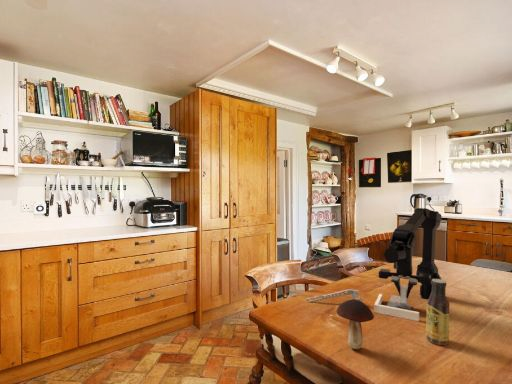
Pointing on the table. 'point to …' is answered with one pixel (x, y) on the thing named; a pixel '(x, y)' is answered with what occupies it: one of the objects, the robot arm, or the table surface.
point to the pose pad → (400, 306)
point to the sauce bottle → (437, 314)
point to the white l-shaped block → (394, 311)
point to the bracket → (353, 292)
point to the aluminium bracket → (400, 298)
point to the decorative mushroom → (355, 320)
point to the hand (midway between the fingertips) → (404, 297)
